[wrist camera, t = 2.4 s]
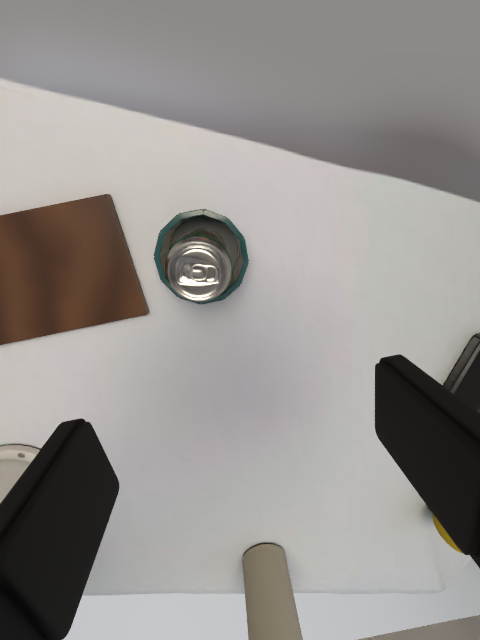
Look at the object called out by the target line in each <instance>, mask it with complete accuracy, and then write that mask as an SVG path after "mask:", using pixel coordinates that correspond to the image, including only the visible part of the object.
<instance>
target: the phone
mask: <svg viewBox="0 0 480 640" xmlns="http://www.w3.org/2000/svg"><path fill="white" fill-rule="evenodd" d="M443 387H445V388H446V389H447V390H449V391H450V392H451V393H453V394H454V395H455V396H457V397H458V398H459V399H461V400H462V401H463V402H465V403H466V404H467V405H469V406H470V407H471V408H473V409H474V410H475V411H476V412H478V413H479V414H480V334H477V335H475V336H474V337H473V338H472V339H471V341H470V343H469V344H468V346H467V348H466V349H465V351H464V353H463V354H462V356H461V358H460V359H459V361H458V363H457V365H456V366H455V368H454V370H453V371H452V373H451V375H450V376H449V378H448V380H447V381H446V383H445V385H444V386H443Z"/></svg>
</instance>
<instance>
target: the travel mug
mask: <svg viewBox="0 0 480 640" xmlns="http://www.w3.org/2000/svg"><path fill="white" fill-rule="evenodd" d="M243 572H244V585H245V598H246V611H247V624H248V636H249V640H303V639H302V634H301V629H300V624H299V620H298V614H297V610H296V605H295V600H294V595H293V590H292V585H291V580H290V575H289V571H288V566H287V561H286V556H285V552H284V550H283V549H282V548H281V547H279V546H276V545H272V544H261V545H257V546H255V547H253V548H251V549H250V550H248V551H247V552H246V553H245V555H244V556H243Z"/></svg>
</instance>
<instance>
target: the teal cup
mask: <svg viewBox="0 0 480 640" xmlns="http://www.w3.org/2000/svg"><path fill="white" fill-rule="evenodd" d="M203 215H205V216H208V217H210V218H213V219H216V220H219V221H221V222H224V223H225V224H226V226H227V227H228V228H229V229H230V230H231V232H232V233H233V234H234V235H235V236H236V241H237V247H238V252H239V256H238V259H237V262H236V265H235V268H234V271H233V272H232V276H231V280H230V283H229V285H228V286H227V288H226V289H225V291H224V292H223V293H222V294H221V295H219V296H218V297H216V298H214V299H212V300H209V301H205V302H195V301H191V302H194V303H197V304H206V303H211V302H216V301H221V300H223V299H225V298H226V297H227V296H229V295H230V294H231V293H232V292H233V291H234V290H235V289H237V288H238V287H239V286H240V284H241V283H242V280H243V278H244V275H245V272H246V269H247V266H248V262H249V260H248V255H247V249H246V243H245V239H244V237H243V235H242V234H241V233H240V232H239V230H238V229H237V228H236V227H235V226H234V224H233V223H232V222H231V221H230V220H229V219H228V218H227V217H225V216H222V215H219V214H216V213H214V212H211V211H208V210H206V209H204V210H203V209H199V210H194V211H189V212H184V213H179V215H176V216H175V217H174V218H173V219H172V220H171V221H170V222H169V223H168V224H167V225H166V226H165V227H164V228H163V229H162V230H161V231H160V233H159V236H158V240H157V244H156V248H155V253H154V256H155V257H154V260H155V263H156V266H157V270H158V273H159V276H160V279H161V280H162V282H163V283H164V284H165V285H166V286H167V287H168V288H169V289H170V290H171V291H172V292H173V293H174V294H175V295H176V296H177V297H179V298H181V299H184V300H187V299H185V298H183V297H181V296H180V295H178V294H177V293H176V292H175V291H174V290H173V289H172V287H171V286H170V284H169V283H168V280H167V278H166V274H165V260H166V257H167V254H168V252H169V246H170V242H171V238H172V234H173V232H174V231H175V230H176V229H177V228H178V227H179V226H180V225H181V224H182V223H183V222H184V221H185V220H186V219H188V218H193V217H198V216H203ZM187 301H190V300H187Z"/></svg>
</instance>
